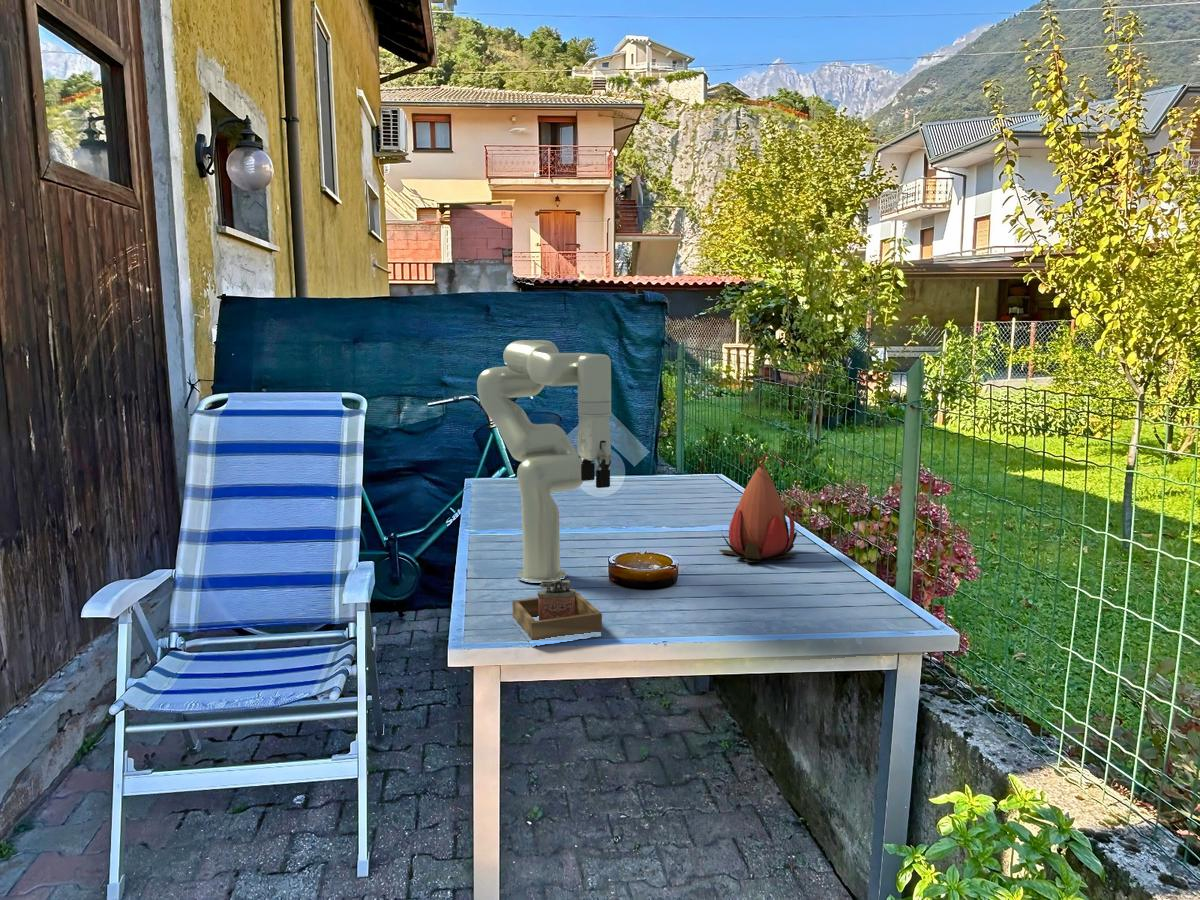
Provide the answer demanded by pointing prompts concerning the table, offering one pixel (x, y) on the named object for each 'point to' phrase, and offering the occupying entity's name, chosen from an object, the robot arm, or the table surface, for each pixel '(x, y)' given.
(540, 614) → the lighter
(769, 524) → the decorative flower
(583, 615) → the walled box
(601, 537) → the table surface
